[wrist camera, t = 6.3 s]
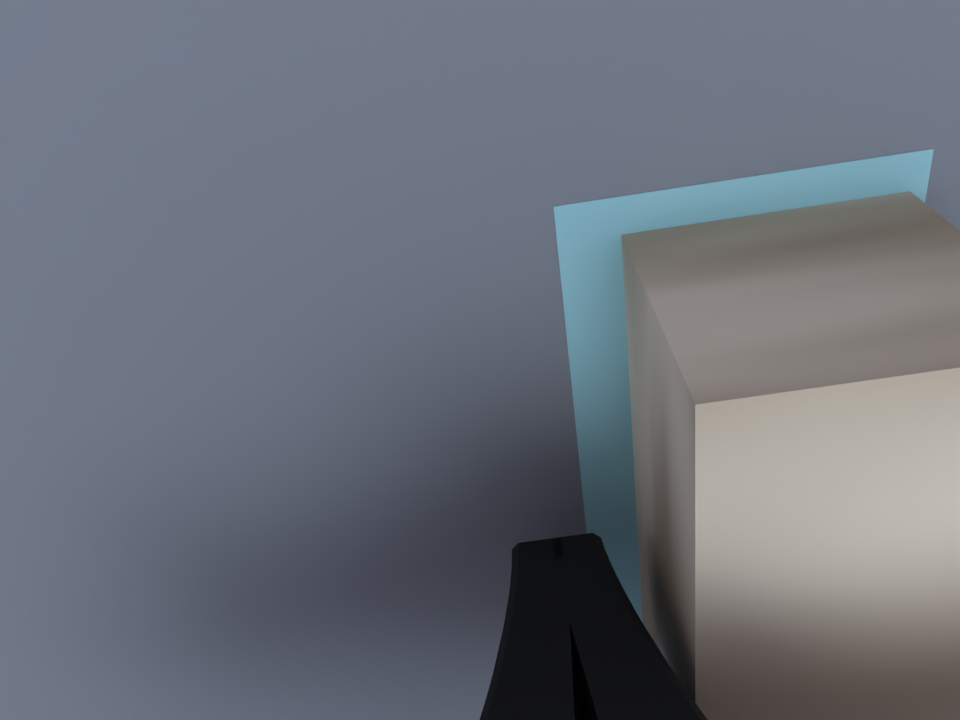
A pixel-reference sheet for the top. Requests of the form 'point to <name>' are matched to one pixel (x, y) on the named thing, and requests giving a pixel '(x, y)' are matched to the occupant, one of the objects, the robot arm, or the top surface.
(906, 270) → the maple T block
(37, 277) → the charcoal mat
